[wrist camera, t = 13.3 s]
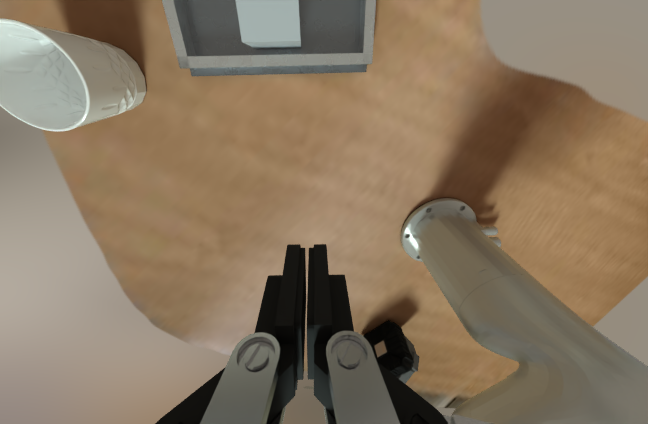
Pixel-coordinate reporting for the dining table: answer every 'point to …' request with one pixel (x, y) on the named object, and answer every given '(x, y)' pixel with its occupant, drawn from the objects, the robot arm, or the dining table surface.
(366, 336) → the cpu cooler
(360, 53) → the rail
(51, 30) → the white cup
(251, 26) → the block
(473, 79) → the dining table surface
